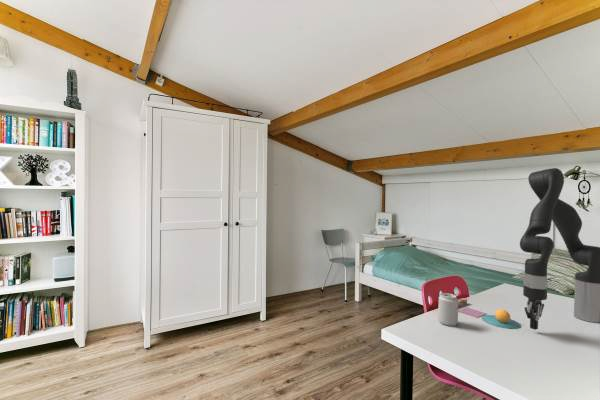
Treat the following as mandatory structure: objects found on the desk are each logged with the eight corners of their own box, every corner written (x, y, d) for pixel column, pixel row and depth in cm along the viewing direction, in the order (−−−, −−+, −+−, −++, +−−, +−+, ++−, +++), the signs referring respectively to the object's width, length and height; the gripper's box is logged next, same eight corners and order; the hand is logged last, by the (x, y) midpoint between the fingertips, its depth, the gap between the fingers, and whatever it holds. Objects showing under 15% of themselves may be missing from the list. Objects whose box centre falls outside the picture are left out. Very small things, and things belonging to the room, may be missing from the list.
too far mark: (467, 307, 146) (467, 307, 146) (487, 314, 139) (487, 313, 139) (457, 311, 141) (457, 310, 141) (477, 317, 134) (477, 317, 134)
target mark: (490, 313, 140) (490, 312, 140) (526, 324, 128) (526, 323, 128) (475, 319, 132) (475, 318, 132) (511, 331, 121) (511, 331, 121)
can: (453, 320, 131) (454, 292, 131) (460, 327, 123) (461, 298, 123) (435, 319, 131) (436, 291, 131) (441, 326, 124) (442, 297, 124)
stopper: (462, 302, 154) (463, 297, 154) (466, 303, 152) (467, 299, 152) (440, 309, 143) (440, 304, 143) (444, 311, 141) (444, 305, 141)
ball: (501, 306, 133) (514, 312, 128) (499, 318, 133) (512, 324, 128) (493, 307, 131) (506, 312, 126) (491, 319, 131) (504, 325, 126)
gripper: (530, 281, 127) (529, 322, 127) (517, 285, 120) (515, 328, 120) (553, 285, 121) (551, 328, 121) (540, 290, 113) (538, 336, 113)
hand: (533, 328), depth 120 cm, fingers closed
